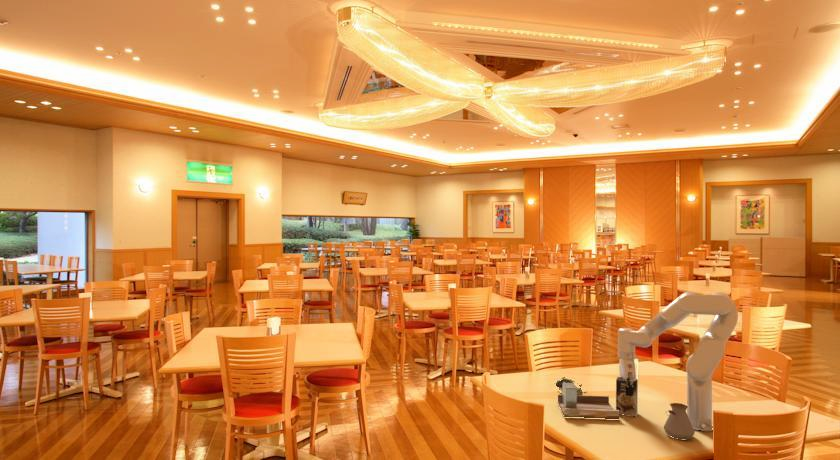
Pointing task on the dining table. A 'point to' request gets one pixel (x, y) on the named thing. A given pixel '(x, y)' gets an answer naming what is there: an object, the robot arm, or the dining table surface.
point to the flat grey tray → (590, 407)
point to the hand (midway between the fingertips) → (626, 392)
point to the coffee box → (626, 398)
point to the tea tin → (569, 395)
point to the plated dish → (560, 385)
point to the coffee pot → (679, 422)
